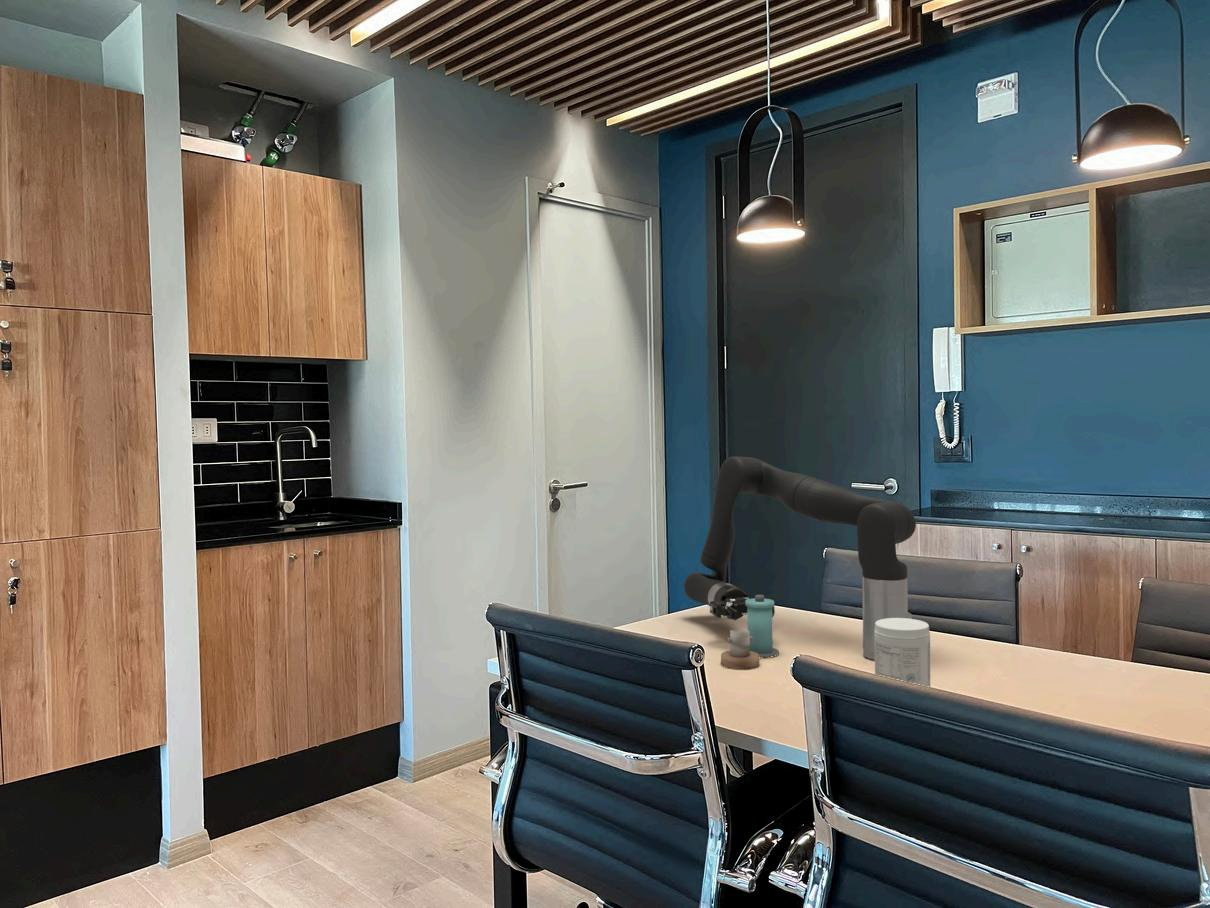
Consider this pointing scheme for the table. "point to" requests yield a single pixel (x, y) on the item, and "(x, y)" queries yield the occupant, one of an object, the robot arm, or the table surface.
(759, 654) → the pad
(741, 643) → the post
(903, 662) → the supplement tub
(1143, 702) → the table surface
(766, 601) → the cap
